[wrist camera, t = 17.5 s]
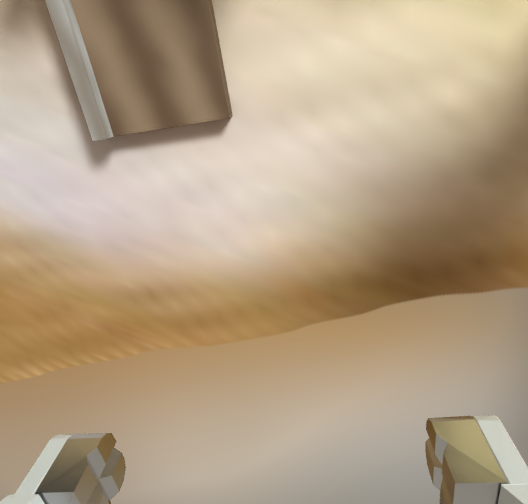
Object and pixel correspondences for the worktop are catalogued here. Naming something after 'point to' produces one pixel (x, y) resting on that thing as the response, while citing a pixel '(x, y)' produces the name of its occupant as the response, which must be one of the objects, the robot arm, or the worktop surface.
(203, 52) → the walnut board
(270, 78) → the worktop surface
